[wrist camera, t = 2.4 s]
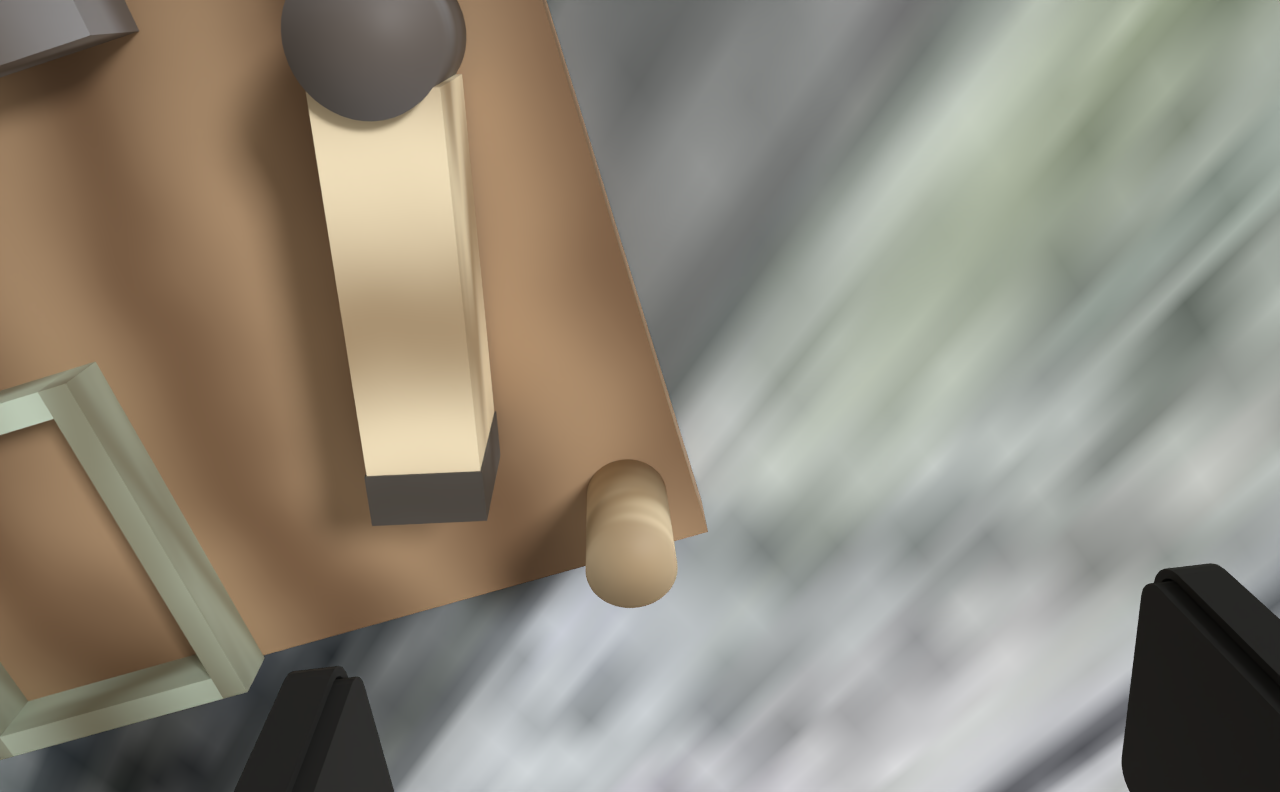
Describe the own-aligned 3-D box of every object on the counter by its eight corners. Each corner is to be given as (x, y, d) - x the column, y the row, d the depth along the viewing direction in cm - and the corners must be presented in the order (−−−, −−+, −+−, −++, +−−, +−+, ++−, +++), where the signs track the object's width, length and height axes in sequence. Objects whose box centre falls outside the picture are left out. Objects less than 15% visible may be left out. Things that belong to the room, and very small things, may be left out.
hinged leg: (322, -40, 22) (267, -46, 18) (459, -43, 22) (432, -50, 18) (394, 459, 27) (363, 533, 24) (505, 455, 27) (491, 527, 24)
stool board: (489, -184, 23) (456, -240, 18) (701, 502, 31) (725, 612, 25) (-376, 111, 25) (-654, 145, 19) (33, 689, 33) (-82, 831, 27)
